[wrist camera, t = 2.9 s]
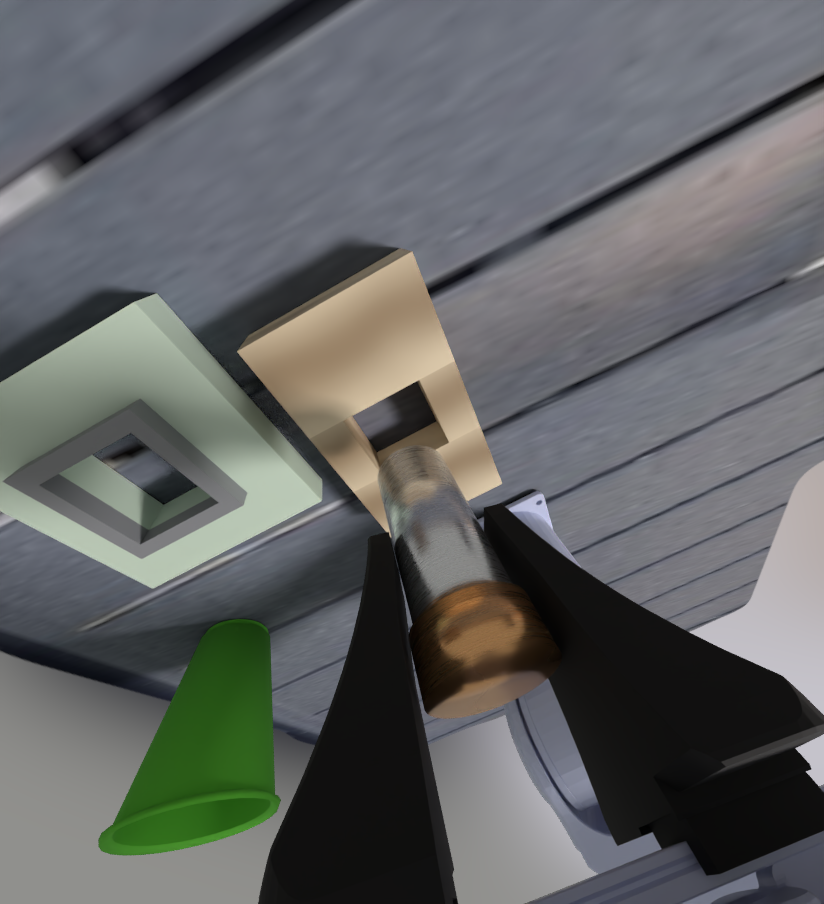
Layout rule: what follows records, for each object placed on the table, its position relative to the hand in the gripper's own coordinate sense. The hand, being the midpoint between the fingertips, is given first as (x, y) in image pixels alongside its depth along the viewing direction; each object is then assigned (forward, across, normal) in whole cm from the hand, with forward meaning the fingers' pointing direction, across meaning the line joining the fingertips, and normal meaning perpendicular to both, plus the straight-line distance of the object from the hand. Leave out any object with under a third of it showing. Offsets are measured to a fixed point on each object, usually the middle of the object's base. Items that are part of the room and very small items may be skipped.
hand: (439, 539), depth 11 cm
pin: (+4, 0, 0) cm, 4 cm away
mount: (+10, 0, 0) cm, 10 cm away
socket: (+10, +13, 0) cm, 16 cm away
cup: (+10, +16, +18) cm, 26 cm away
